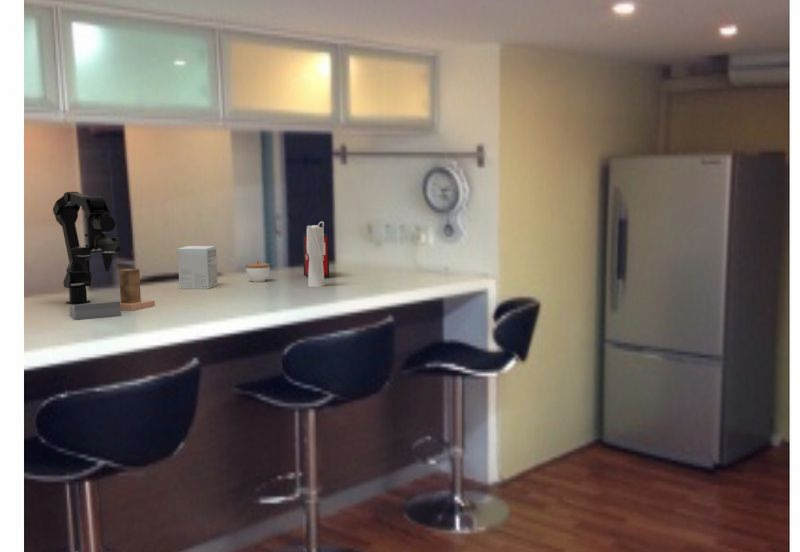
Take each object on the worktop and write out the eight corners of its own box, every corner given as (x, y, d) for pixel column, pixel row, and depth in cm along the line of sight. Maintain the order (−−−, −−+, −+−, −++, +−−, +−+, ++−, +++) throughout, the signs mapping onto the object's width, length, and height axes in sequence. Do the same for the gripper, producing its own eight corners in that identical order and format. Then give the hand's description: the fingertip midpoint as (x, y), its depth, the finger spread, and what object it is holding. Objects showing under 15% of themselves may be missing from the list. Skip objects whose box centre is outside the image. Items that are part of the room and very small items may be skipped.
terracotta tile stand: (107, 308, 306) (106, 303, 305) (131, 303, 316) (130, 298, 316) (131, 310, 300) (131, 305, 300) (154, 305, 311) (154, 300, 311)
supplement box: (218, 284, 368) (217, 245, 365) (208, 289, 355) (207, 248, 352) (189, 284, 369) (187, 245, 367) (178, 289, 356) (176, 248, 354)
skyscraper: (328, 285, 363) (327, 221, 360) (322, 287, 356) (321, 222, 352) (311, 284, 365) (310, 221, 362) (305, 287, 358) (303, 222, 355)
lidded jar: (263, 283, 372) (262, 262, 371) (242, 282, 376) (241, 261, 374) (274, 280, 382) (273, 259, 381) (253, 279, 386) (253, 259, 384)
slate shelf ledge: (69, 314, 293) (69, 300, 292) (113, 310, 300) (113, 297, 300) (75, 319, 283) (74, 305, 282) (120, 315, 290) (120, 301, 289)
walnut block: (120, 302, 307) (119, 270, 305) (130, 300, 311) (129, 268, 310) (130, 303, 305) (129, 270, 303) (140, 301, 309) (139, 269, 307)
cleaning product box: (329, 278, 387) (328, 235, 385) (310, 279, 384) (309, 236, 382) (321, 274, 403) (321, 233, 400) (303, 275, 400) (302, 233, 398)
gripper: (91, 233, 292) (94, 277, 294) (130, 229, 308) (132, 271, 310) (68, 232, 297) (71, 275, 299) (108, 228, 313) (110, 269, 315)
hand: (97, 273), depth 306 cm, fingers open, 9 cm apart
